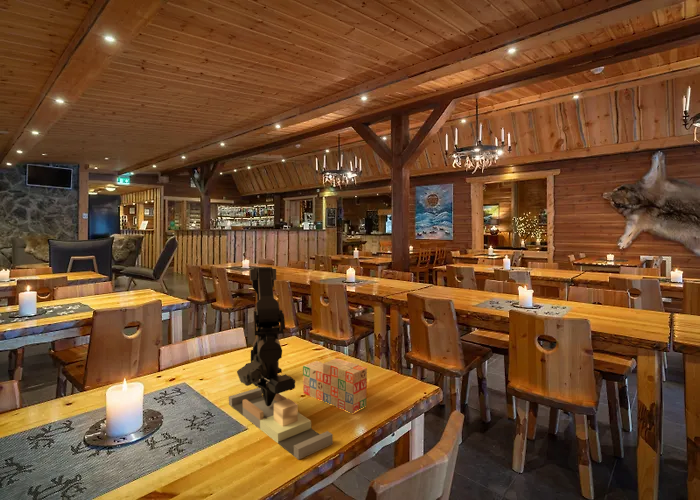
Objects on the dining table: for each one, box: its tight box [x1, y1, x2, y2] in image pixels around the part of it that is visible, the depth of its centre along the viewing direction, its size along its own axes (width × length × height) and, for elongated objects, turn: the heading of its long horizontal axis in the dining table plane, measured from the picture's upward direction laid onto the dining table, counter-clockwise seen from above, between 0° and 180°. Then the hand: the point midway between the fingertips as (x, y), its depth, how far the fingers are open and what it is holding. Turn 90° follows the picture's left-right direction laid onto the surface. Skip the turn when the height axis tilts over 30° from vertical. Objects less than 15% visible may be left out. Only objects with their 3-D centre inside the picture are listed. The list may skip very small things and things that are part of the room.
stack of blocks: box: [302, 357, 368, 414], centre depth 122 cm, size 21×6×12 cm, turn 49°
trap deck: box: [228, 387, 334, 460], centre depth 108 cm, size 10×37×4 cm, turn 41°
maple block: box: [274, 398, 299, 426], centre depth 104 cm, size 4×4×4 cm
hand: (268, 405), depth 111 cm, fingers closed
